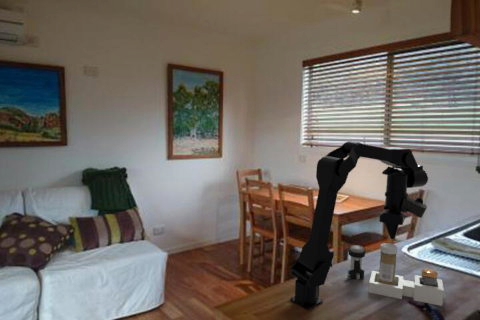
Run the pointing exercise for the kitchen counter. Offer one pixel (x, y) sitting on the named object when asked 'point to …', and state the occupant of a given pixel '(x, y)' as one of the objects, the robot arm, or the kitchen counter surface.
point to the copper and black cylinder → (429, 277)
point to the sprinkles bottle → (387, 263)
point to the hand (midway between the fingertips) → (392, 238)
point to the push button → (356, 262)
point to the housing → (408, 289)
